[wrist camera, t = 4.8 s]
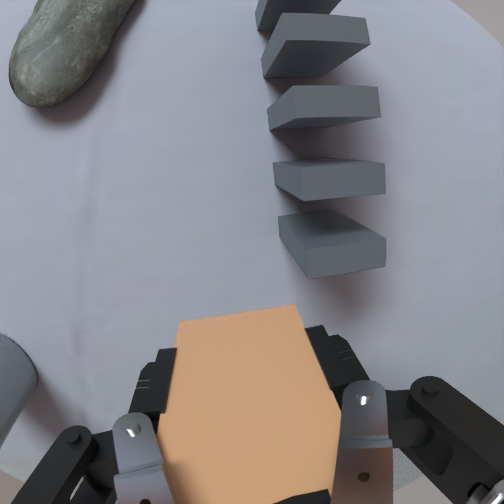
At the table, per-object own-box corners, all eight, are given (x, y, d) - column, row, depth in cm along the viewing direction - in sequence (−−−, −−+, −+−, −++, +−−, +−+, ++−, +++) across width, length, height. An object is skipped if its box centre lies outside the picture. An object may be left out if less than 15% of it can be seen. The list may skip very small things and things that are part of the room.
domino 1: (297, 337, 14) (366, 526, 5) (189, 354, 14) (169, 551, 5) (294, 303, 14) (377, 501, 5) (179, 321, 13) (142, 529, 4)
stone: (84, 121, 23) (155, -14, 21) (71, 111, 19) (155, -37, 17) (-7, 100, 19) (64, -26, 18) (-27, 90, 16) (55, -46, 14)
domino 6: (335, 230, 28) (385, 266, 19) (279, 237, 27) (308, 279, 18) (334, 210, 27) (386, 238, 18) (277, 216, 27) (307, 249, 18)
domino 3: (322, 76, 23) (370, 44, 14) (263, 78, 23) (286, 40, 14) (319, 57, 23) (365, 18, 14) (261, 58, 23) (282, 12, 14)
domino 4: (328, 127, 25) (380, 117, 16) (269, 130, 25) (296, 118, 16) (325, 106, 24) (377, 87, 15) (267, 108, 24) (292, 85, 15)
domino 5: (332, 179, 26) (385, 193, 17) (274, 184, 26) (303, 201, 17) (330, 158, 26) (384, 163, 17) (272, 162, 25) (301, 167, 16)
